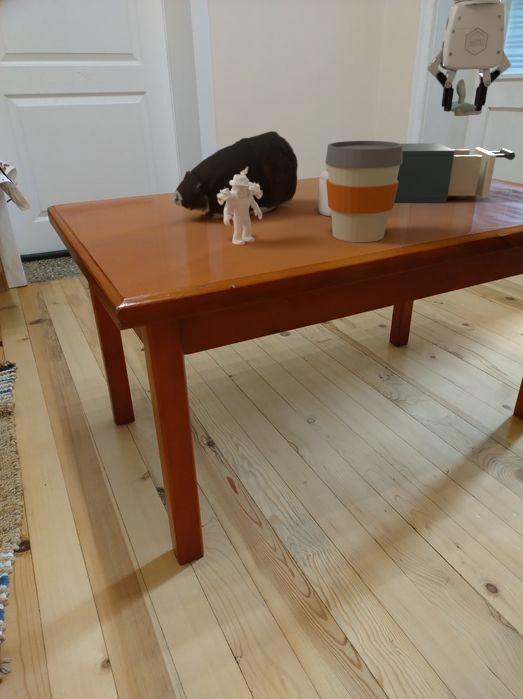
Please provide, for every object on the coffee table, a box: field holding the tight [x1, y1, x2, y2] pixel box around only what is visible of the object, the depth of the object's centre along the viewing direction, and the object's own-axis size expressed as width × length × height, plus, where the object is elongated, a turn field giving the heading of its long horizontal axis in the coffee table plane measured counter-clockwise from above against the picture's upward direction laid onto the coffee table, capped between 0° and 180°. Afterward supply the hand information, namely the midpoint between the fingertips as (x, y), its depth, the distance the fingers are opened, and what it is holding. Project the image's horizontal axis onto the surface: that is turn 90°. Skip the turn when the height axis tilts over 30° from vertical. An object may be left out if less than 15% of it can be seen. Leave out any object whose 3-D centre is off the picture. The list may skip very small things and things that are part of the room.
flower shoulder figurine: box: [217, 167, 263, 246], centre depth 85 cm, size 9×4×12 cm, turn 135°
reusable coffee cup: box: [325, 140, 403, 243], centre depth 87 cm, size 13×13×15 cm
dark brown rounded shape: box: [172, 130, 299, 220], centre depth 104 cm, size 15×15×25 cm
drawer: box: [448, 147, 516, 199], centre depth 115 cm, size 20×13×9 cm, turn 84°
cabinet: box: [394, 142, 454, 204], centre depth 116 cm, size 16×14×11 cm
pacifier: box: [450, 78, 483, 117], centre depth 96 cm, size 7×6×6 cm
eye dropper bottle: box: [317, 158, 331, 217], centre depth 102 cm, size 4×6×12 cm
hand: (462, 109), depth 97 cm, fingers closed on pacifier, 5 cm apart
